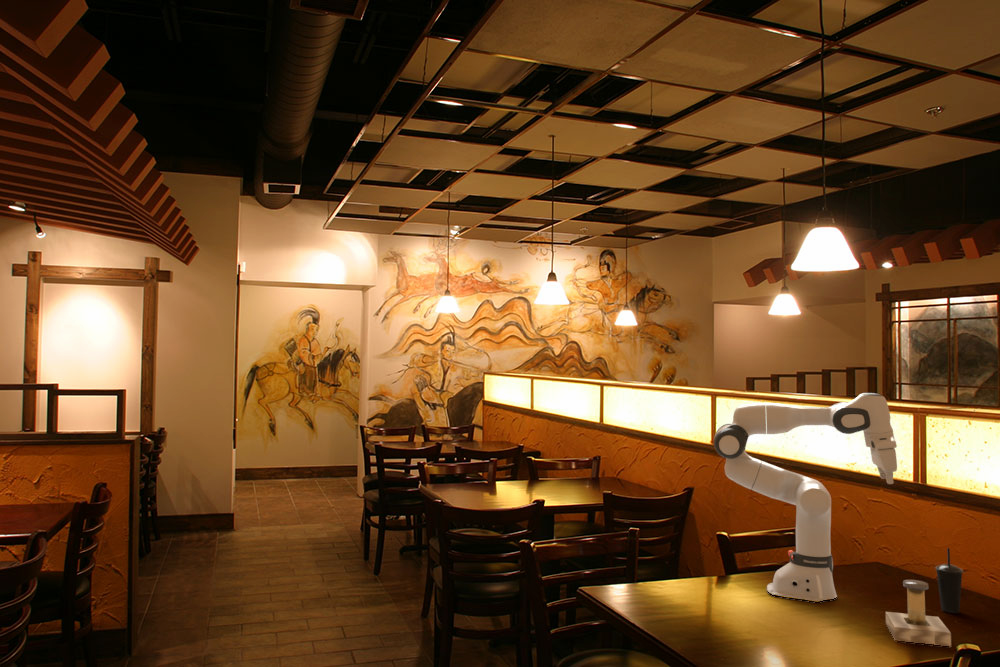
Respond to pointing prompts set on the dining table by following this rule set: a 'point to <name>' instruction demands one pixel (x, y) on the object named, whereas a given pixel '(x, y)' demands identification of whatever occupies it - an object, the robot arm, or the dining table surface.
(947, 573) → the drinking cup
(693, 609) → the dining table surface
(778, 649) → the dining table surface
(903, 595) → the dining table surface
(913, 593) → the beige jar with lid
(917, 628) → the block
